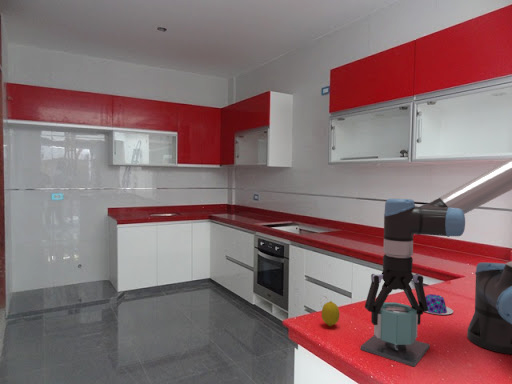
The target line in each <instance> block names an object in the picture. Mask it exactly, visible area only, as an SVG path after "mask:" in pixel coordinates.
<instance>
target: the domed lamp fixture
mask: <svg viewBox="0 0 512 384" xmlns="http://www.w3.org/2000/svg"><path fill="white" fill-rule="evenodd" d="M386 310H388V311H392V312H396V313H407V309H405V308H403V307H400V306H387V307H386ZM430 346H431V345H430V343H426V342H423V341H420V340H419V341H418V340H415V341H414V342H413V343H412V344H411V345H396V344H392V343H389V342H386V341H383V340H381V339H380V338H377V337H376V336H375V335H374V334H373V335H372V336H371V337H370V338H369V339H367V340H366V341H365V342H364V343H362V344H361V345H360V351H364V352H367V353H371V354H373V355H376V356H380V357H383V358H385V359H389V360H392V361H394V362H398V363H401V364H404V365H406V366H411V367H413V368H414V367H416V366H417V364H418V363H419V362H420V361H421V360H422V359H423V357H424V355H425V354H426V353H427V352H428V351H429V349H430Z"/></svg>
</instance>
